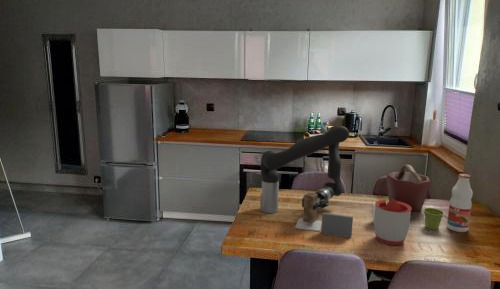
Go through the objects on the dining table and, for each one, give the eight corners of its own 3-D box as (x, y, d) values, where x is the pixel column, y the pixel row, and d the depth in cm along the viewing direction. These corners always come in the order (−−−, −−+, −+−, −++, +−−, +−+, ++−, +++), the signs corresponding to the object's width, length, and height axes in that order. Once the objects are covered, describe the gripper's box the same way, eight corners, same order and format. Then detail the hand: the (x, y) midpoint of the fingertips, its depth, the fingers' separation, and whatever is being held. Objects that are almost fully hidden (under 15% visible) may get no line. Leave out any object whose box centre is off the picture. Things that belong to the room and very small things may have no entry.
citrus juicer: (404, 233, 178) (408, 194, 174) (411, 249, 162) (415, 206, 158) (370, 229, 182) (373, 191, 178) (373, 245, 165) (377, 203, 161)
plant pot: (440, 225, 189) (442, 209, 187) (443, 232, 180) (445, 215, 178) (420, 222, 192) (422, 206, 190) (422, 229, 183) (424, 213, 181)
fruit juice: (471, 229, 184) (479, 175, 179) (462, 234, 179) (470, 178, 173) (451, 223, 191) (458, 171, 186) (443, 227, 186) (450, 174, 180)
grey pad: (295, 227, 182) (295, 226, 182) (299, 218, 193) (299, 217, 193) (319, 231, 178) (319, 230, 178) (322, 222, 190) (322, 221, 190)
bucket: (427, 218, 197) (432, 173, 193) (383, 212, 205) (388, 168, 200) (423, 203, 220) (428, 163, 215) (384, 198, 227) (387, 159, 223)
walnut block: (302, 221, 185) (304, 194, 182) (307, 218, 189) (308, 192, 186) (312, 223, 182) (313, 196, 179) (316, 220, 186) (317, 194, 183)
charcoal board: (321, 233, 176) (322, 213, 175) (321, 232, 178) (322, 212, 176) (351, 237, 172) (352, 217, 170) (351, 236, 174) (353, 216, 172)
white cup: (388, 226, 186) (390, 207, 184) (372, 224, 188) (374, 206, 186) (386, 220, 194) (388, 202, 192) (370, 219, 195) (372, 201, 193)
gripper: (309, 187, 199) (295, 196, 185) (334, 192, 191) (322, 202, 177) (308, 201, 200) (294, 210, 186) (334, 206, 192) (321, 217, 178)
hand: (308, 206), depth 182 cm, fingers closed on walnut block, 5 cm apart
